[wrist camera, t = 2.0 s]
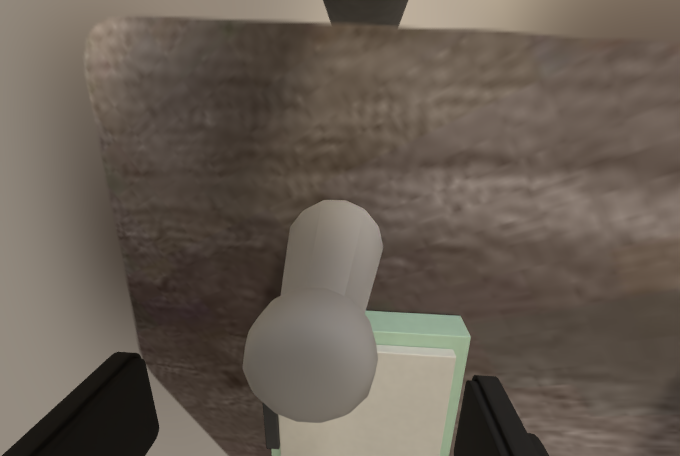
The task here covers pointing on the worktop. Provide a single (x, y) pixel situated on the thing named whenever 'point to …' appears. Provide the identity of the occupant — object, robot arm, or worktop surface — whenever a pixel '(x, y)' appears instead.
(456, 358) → the scale
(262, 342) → the salt shaker
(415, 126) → the worktop surface
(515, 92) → the worktop surface
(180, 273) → the worktop surface
